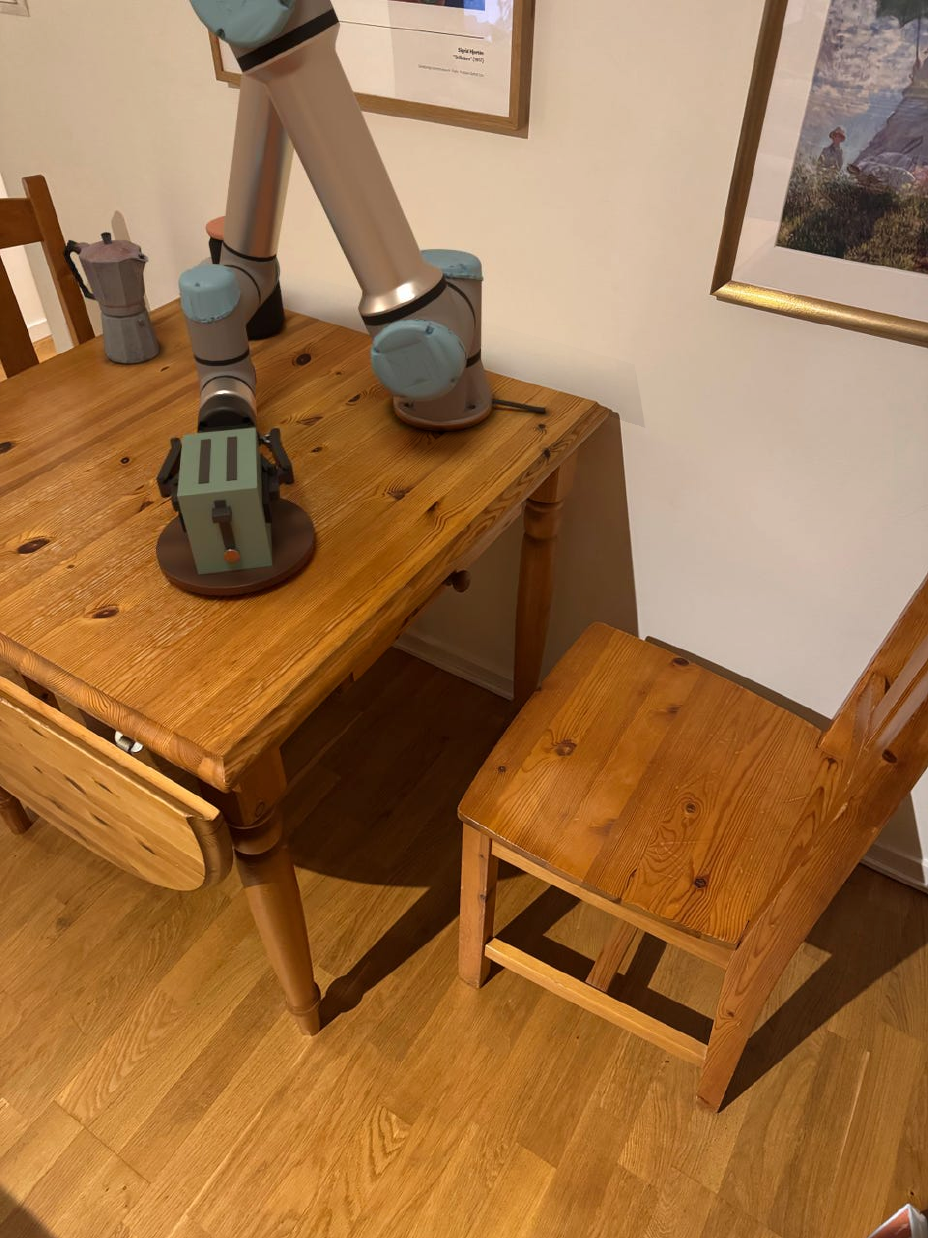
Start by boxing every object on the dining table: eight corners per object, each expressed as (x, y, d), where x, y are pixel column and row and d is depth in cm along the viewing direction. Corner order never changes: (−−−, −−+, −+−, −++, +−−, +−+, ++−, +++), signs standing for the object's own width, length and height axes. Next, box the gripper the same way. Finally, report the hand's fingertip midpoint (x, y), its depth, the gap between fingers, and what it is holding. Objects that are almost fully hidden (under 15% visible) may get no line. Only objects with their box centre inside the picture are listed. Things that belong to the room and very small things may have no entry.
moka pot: (160, 369, 143) (127, 245, 129) (75, 361, 145) (35, 238, 132) (185, 344, 150) (156, 224, 136) (103, 337, 152) (68, 218, 138)
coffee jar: (224, 319, 157) (204, 216, 145) (283, 313, 159) (268, 210, 147) (227, 344, 150) (205, 237, 138) (288, 338, 152) (273, 231, 139)
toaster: (163, 509, 111) (138, 424, 103) (310, 493, 114) (298, 409, 106) (152, 605, 98) (123, 516, 89) (320, 584, 100) (307, 496, 92)
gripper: (311, 435, 118) (323, 533, 102) (151, 451, 115) (137, 555, 99) (305, 385, 113) (316, 479, 96) (137, 400, 110) (119, 500, 94)
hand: (226, 517), depth 98 cm, fingers closed on toaster, 8 cm apart
